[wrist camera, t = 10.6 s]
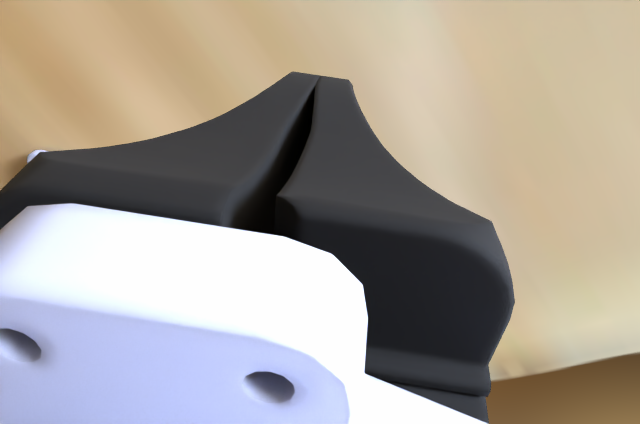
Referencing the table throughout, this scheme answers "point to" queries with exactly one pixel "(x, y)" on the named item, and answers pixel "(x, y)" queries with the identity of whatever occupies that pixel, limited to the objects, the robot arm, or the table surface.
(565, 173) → the table surface
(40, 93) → the table surface
